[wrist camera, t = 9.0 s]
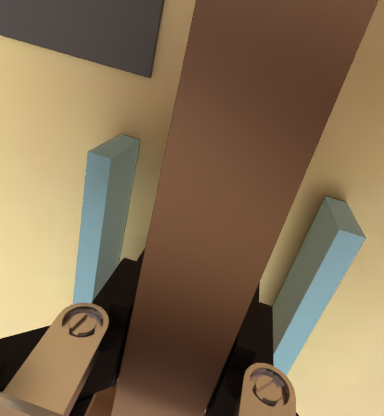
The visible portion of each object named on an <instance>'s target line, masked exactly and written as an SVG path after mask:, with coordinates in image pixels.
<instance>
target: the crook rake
mask: <svg viewBox="0 0 384 416" xmlns="http://www.w3.org/2000/svg"><path fill="white" fill-rule="evenodd" d="M377 2H378V0H196V3H195V8H194V13H193V18H192V23H191V28H190V33H189V38H188V42H187V47H186V52H185V57H184V62H183V67H182V72H181V77H180V82H179V86H178V91H177V96H176V101H175V106H174V111H173V116H172V121H171V126H170V130H169V135H168V140H167V145H166V150H165V155H164V160H163V165H162V170H161V174H160V179H159V184H158V189H157V194H156V199H155V204H154V209H153V214H152V218H151V223H150V228H149V233H148V238H147V243H146V248H145V253H144V257H143V262H142V267H141V272H140V277H139V282H138V287H137V292H136V297H135V301H134V306H133V311H132V316H131V321H130V326H129V331H128V336H127V341H126V345H125V350H124V355H123V360H122V365H121V370H120V375H119V380H118V382H116V384H115V386H114V388H113V387H110V386H109V388H107V389H104V390H102V391H100V392H97V395H96V398H95V401H94V403H93V405H92V407H91V410H90V412H89V414H88V416H205V414H206V413H204V412H205V410H206V407H207V405H208V403H209V400H210V398H211V395H212V393H213V391H214V388H215V386H216V384H217V381H218V379H219V376H220V374H221V372H222V369H223V367H224V365H225V362H226V360H227V358H228V355H229V353H230V350H231V348H232V346H233V343H234V341H235V339H236V336H237V334H238V331H239V329H240V327H241V324H242V322H243V320H244V317H245V315H246V313H247V310H248V308H249V305H250V303H251V301H252V298H253V296H254V294H255V291H256V289H257V286H258V284H259V282H260V279H261V277H262V275H263V272H264V270H265V268H266V265H267V263H268V260H269V258H270V256H271V253H272V251H273V249H274V246H275V244H276V242H277V239H278V237H279V234H280V232H281V230H282V227H283V225H284V223H285V220H286V218H287V215H288V213H289V211H290V208H291V206H292V204H293V201H294V199H295V197H296V194H297V192H298V189H299V187H300V185H301V182H302V180H303V178H304V175H305V173H306V170H307V168H308V166H309V163H310V161H311V159H312V156H313V154H314V152H315V149H316V147H317V144H318V142H319V140H320V137H321V135H322V133H323V130H324V128H325V125H326V123H327V121H328V118H329V116H330V114H331V111H332V109H333V107H334V104H335V102H336V99H337V97H338V95H339V92H340V90H341V88H342V85H343V83H344V81H345V78H346V76H347V73H348V71H349V69H350V66H351V64H352V62H353V59H354V57H355V54H356V52H357V50H358V47H359V45H360V43H361V40H362V38H363V36H364V33H365V31H366V28H367V26H368V24H369V21H370V19H371V17H372V14H373V12H374V9H375V7H376V5H377Z"/></svg>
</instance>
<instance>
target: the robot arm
mask: <svg viewBox="0 0 384 416" xmlns="http://www.w3.org/2000/svg"><path fill="white" fill-rule="evenodd" d="M145 248H146V247H145ZM144 253H145V249H144V251H143V252H142V254H141V255H140V257H139V258H138V260H137V262H136V261H133V260H130V259H127V258H124V259H123V260H122V261H121V262H120V264H119V265H118V266H117V268H116V269H115V271H114V272H113V273H112V275H111V276H110V278H109V279H108V280H107V282H106V283H105V285H104V286H103V287H102V289H101V290H100V292H99V293H98V294H97V296H96V297H95V299H94V300H93V301H92V303H76V304H73V305H70V306H68V307H67V308H65V309H64V310H63V311H62V312H61V313H60V314H59V315H58V316H57V318H56V319H55V320H54V322H53V323H52V325H50V326H46V327H43V328H39V329H35V330H32V331H28V332H24V333H20V334H17V335H13V336H9V337H5V338H2V339H0V416H88V414H89V412H90V410H91V407H92V405H93V403H94V401H95V398H96V395H97V392H100V391H102V390H104V389H107V388H109V386H110V387H113V388H114V386H115V384H116V382H117V380H118V378H119V375H120V370H121V365H122V360H123V355H124V350H125V345H126V341H127V336H128V331H129V326H130V321H131V316H132V311H133V306H134V301H135V297H136V292H137V287H138V282H139V277H140V272H141V267H142V262H143V257H144ZM259 284H260V282H259ZM259 284H258V286H257V289H256V291H255V294H254V296H253V298H252V301H251V303H250V305H249V308H248V310H247V313H246V315H245V317H244V320H243V322H242V324H241V327H240V329H239V331H238V334H237V336H236V339H235V341H234V343H233V346H232V348H231V350H230V353H229V355H228V358H227V360H226V362H225V365H224V367H223V369H222V372H221V374H220V376H219V379H218V381H217V384H216V386H215V388H214V391H213V393H212V395H211V398H210V400H209V403H208V405H207V407H206V414H205V416H299V415H298V414H297V413H296V397H295V391H294V388H293V386H292V384H291V382H290V380H289V379H288V378H287V376H286V375H285V374H284V373H283V372H281V371H280V370H279V369H278V368H276V367H274V361H273V310H272V306H270V305H267V304H264V303H261V302H259Z"/></svg>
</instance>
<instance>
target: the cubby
mask: <svg viewBox="0 0 384 416" xmlns="http://www.w3.org/2000/svg"><path fill="white" fill-rule="evenodd" d="M139 143H140V140H139V139H136V138H132V137H129V136H126V135H122V134H120V135H118V136H116V137H114V138H113V139H111V140H109V141H107V142H105V143H103V144H101V145H100V146H98V147H96V148H94V149H92V150H90V151H88V156H87V166H86V176H85V187H84V197H83V207H82V217H81V227H80V237H79V247H78V257H77V267H76V278H75V288H74V298H73V304H76V303H92V301H93V300H94V299H95V297H96V296H97V294H98V293H99V292H100V290H101V289H102V287H103V286H104V285H105V283H106V282H107V280H108V279H109V278H110V276H111V275H112V273H113V272H114V271H115V269H116V268H117V266H118V265H119V260H120V254H121V248H122V242H123V236H124V231H125V225H126V219H127V213H128V207H129V202H130V196H131V190H132V184H133V178H134V172H135V167H136V161H137V155H138V149H139ZM365 238H366V237H365V235H364V234H363V232H362V230H361V228H360V226H359V224H358V223H357V221H356V219H355V217H354V215H353V213H352V211H351V210H350V208H349V206H348V204H347V202H344V201H340V200H337V199H334V198H330V197H327V196H325V198H324V200H323V202H322V204H321V206H320V208H319V210H318V212H317V215H316V217H315V219H314V221H313V223H312V225H311V227H310V229H309V231H308V233H307V236H306V238H305V240H304V242H303V244H302V246H301V248H300V250H299V252H298V254H297V256H296V259H295V261H294V263H293V265H292V267H291V269H290V271H289V273H288V275H287V277H286V280H285V282H284V284H283V286H282V288H281V290H280V292H279V294H278V296H277V298H276V301H275V303H274V305H273V307H272V310H273V361H274V367H276V368H278V369H279V370H280V371H281V372H283V373H284V374H285V375H287V374H288V372H289V370H290V368H291V367H292V365H293V363H294V361H295V360H296V358H297V356H298V354H299V353H300V351H301V349H302V348H303V346H304V344H305V342H306V341H307V339H308V337H309V335H310V334H311V332H312V330H313V329H314V327H315V325H316V323H317V322H318V320H319V318H320V316H321V315H322V313H323V311H324V309H325V308H326V306H327V304H328V303H329V301H330V299H331V297H332V296H333V294H334V292H335V290H336V289H337V287H338V285H339V283H340V282H341V280H342V278H343V277H344V275H345V273H346V271H347V270H348V268H349V266H350V264H351V263H352V261H353V259H354V258H355V256H356V254H357V252H358V251H359V249H360V247H361V245H362V244H363V242H364V240H365Z"/></svg>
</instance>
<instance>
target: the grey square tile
mask: <svg viewBox="0 0 384 416" xmlns="http://www.w3.org/2000/svg"><path fill="white" fill-rule="evenodd" d="M163 4H164V0H0V35H2V36H5V37H9V38H12V39H16V40H19V41H23V42H26V43H29V44H33V45H36V46H40V47H43V48H47V49H50V50H54V51H57V52H61V53H64V54H68V55H71V56H75V57H78V58H82V59H85V60H89V61H92V62H96V63H99V64H103V65H106V66H110V67H113V68H117V69H120V70H124V71H127V72H131V73H134V74H138V75H141V76H145V77H148V78H151V74H152V68H153V62H154V56H155V51H156V45H157V39H158V33H159V27H160V21H161V16H162V10H163Z"/></svg>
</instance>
